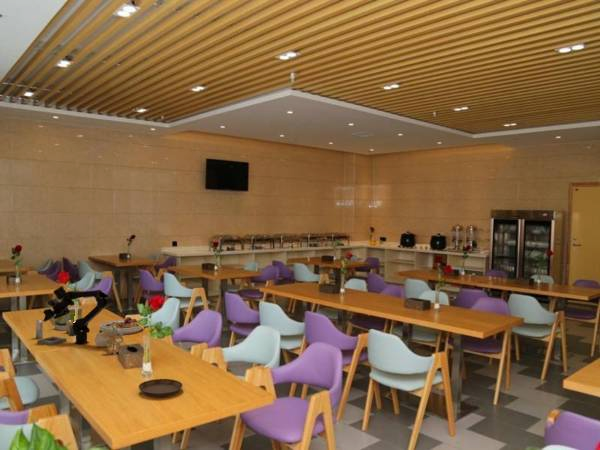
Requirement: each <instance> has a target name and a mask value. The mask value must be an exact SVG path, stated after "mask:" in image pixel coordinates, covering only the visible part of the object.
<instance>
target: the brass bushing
mask: <svg viewBox="0 0 600 450" xmlns="http://www.w3.org/2000/svg"><path fill="white" fill-rule="evenodd" d="M72 324H73V320H67V321H66V330H65V332H66V335H67V334H68V335H70V325H72Z"/></svg>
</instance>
